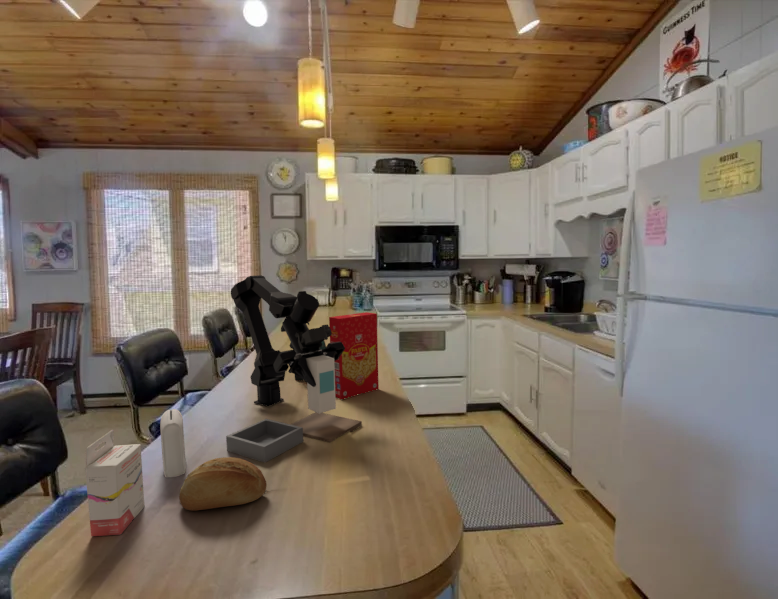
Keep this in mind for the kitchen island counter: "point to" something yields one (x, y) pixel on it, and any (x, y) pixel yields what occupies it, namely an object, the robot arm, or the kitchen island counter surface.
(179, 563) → the kitchen island counter surface
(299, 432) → the tub
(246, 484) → the bread roll
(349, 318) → the food packaging
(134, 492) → the ink cartridge box
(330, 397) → the carton
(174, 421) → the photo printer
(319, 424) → the board
